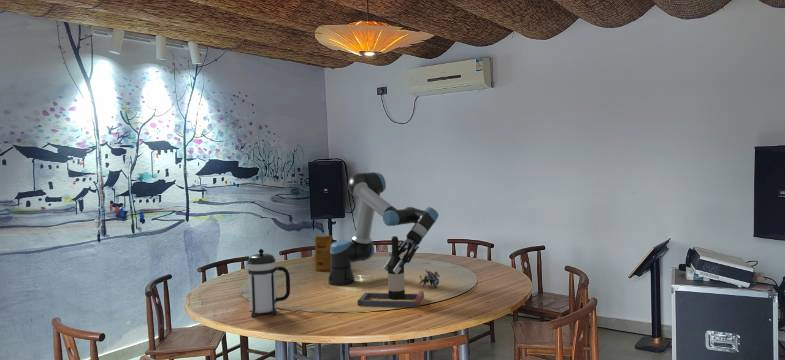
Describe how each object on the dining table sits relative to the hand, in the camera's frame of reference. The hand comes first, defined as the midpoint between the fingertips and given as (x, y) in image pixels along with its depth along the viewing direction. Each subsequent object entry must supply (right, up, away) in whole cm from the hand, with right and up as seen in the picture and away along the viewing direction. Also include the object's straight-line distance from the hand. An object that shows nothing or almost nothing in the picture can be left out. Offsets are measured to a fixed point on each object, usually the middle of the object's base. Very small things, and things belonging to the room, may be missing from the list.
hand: (390, 270), depth 256 cm
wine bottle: (+3, -14, +2) cm, 14 cm away
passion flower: (+21, -15, +31) cm, 40 cm away
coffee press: (-58, -18, -8) cm, 61 cm away
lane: (+1, -16, +4) cm, 16 cm away
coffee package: (-43, -14, +87) cm, 98 cm away
